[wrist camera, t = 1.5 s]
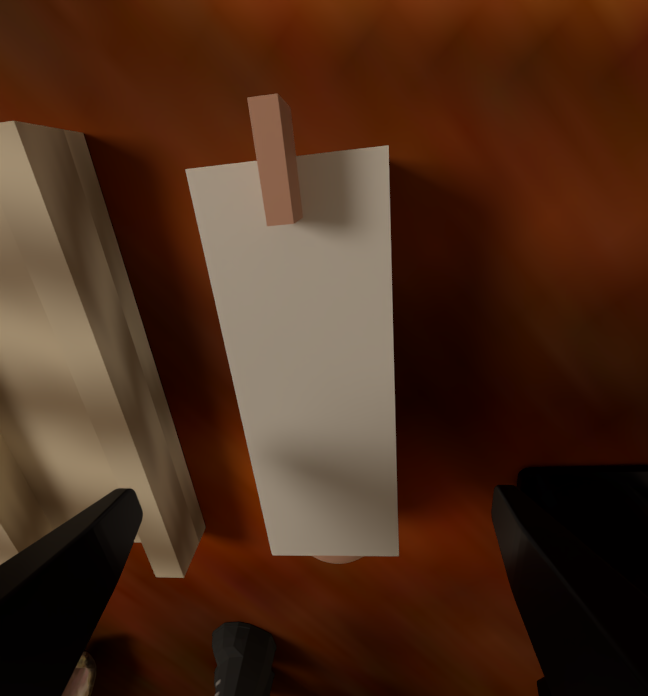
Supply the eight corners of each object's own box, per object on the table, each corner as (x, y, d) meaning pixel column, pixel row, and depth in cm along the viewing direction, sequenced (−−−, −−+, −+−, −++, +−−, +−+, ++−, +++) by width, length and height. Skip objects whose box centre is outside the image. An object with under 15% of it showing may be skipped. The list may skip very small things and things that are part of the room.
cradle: (-151, 163, 15) (-268, 159, 12) (83, 133, 13) (13, 120, 11) (49, 527, 23) (6, 574, 20) (205, 527, 22) (183, 577, 19)
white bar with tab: (236, 142, 13) (141, 112, 7) (376, 125, 13) (393, 77, 7) (297, 500, 20) (273, 631, 14) (390, 499, 20) (403, 635, 14)
